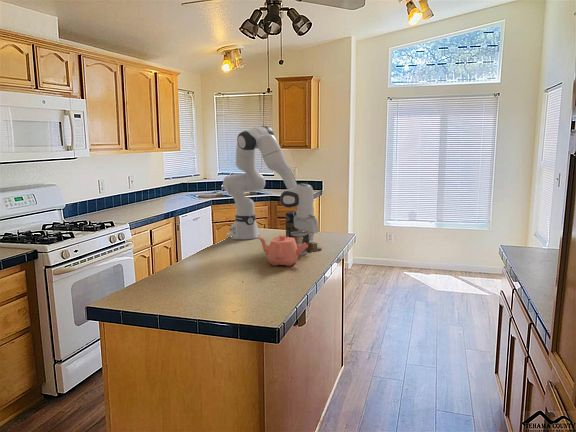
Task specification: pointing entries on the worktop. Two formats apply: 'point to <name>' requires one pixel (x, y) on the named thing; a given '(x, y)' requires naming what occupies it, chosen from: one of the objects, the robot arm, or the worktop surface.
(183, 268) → the worktop surface
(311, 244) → the board
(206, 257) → the worktop surface
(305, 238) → the cylinder
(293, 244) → the teapot
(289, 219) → the canister
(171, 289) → the worktop surface
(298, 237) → the bobbin
